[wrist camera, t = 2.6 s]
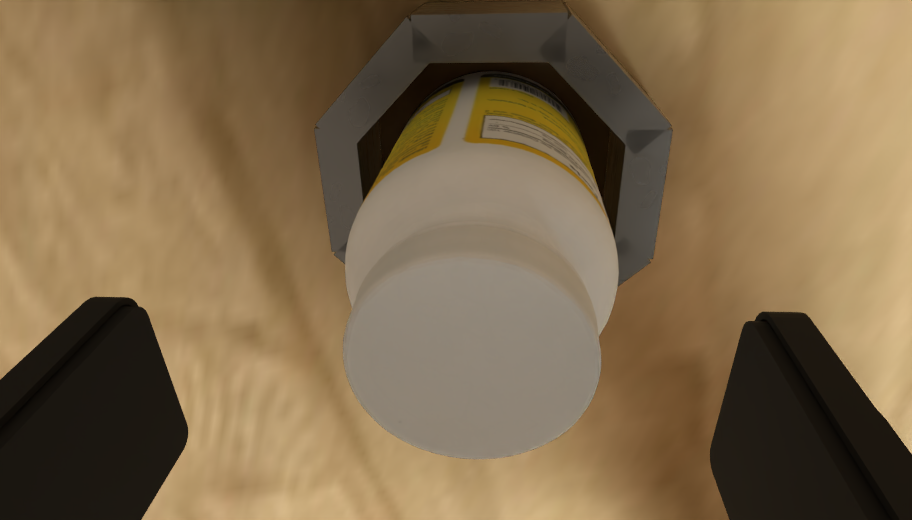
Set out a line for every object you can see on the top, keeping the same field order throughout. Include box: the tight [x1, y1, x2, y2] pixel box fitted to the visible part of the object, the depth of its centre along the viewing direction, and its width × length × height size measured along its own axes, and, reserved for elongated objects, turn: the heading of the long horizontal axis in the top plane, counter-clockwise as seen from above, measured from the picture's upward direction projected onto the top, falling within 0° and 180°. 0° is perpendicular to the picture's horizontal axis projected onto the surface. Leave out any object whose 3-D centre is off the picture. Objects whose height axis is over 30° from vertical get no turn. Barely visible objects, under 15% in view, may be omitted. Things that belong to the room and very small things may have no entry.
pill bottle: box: [343, 71, 619, 459], centre depth 15 cm, size 6×6×11 cm
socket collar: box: [314, 0, 673, 287], centre depth 19 cm, size 10×10×3 cm
